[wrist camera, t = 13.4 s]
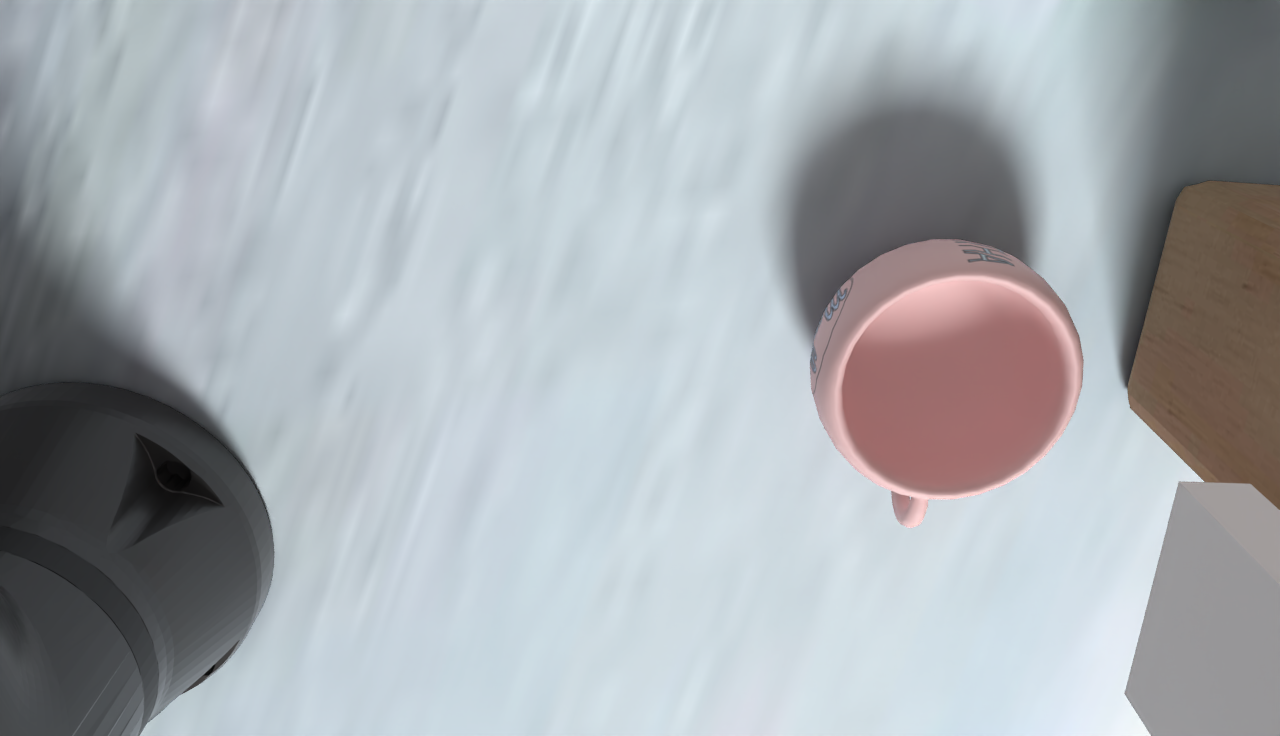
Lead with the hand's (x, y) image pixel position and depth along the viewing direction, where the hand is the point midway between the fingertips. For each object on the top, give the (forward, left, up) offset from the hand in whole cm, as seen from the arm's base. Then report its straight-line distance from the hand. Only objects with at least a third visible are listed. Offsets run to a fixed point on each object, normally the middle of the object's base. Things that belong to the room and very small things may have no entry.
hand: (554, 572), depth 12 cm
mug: (+13, -10, -33) cm, 37 cm away
